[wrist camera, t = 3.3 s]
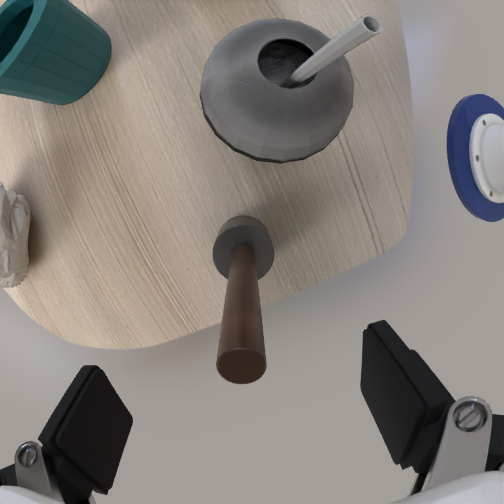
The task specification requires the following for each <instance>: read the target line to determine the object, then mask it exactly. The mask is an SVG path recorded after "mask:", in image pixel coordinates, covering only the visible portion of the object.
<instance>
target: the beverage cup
mask: <svg viewBox="0 0 504 504" xmlns="http://www.w3.org/2000/svg"><path fill="white" fill-rule="evenodd" d="M381 28H382V25H381V24H380V22H379V21H378V20H377V18H375V17H373V16H371V15H369V14H367V15H364V16H361V17H360V18H359V19H357V20H356V21H355V22H353V23H352V24H351V25H349V26H348V27H347V28H345V29H344V30H343V31H342V32H340V33H339V34H338V35H337V36H335V37H334V38H333V39H332V40H330V39H329V38H328V37H327V36H326V35H324V34H323V33H322V32H321V31H319V30H317V29H315V28H313V27H311V26H308V25H306V24H304V23H302V22H298V21H293V20H286V19H280V18H277V19H267V20H258V21H254V22H251V23H249V24H247V25H244V26H242V27H239V28H237V29H235V30H233V31H232V32H231V33H230V34H229V35H227V36H226V37H225V38H224V39H223V40H222V41H220V42H219V43H218V44H217V45H216V46H215V48H214V50H213V51H212V53H211V55H210V57H209V58H208V60H207V62H206V64H205V67H204V72H203V77H202V83H201V90H200V99H201V104H202V109H203V113H204V117H205V119H206V120H207V122H208V123H209V125H210V127H211V128H212V130H213V132H214V133H215V135H216V136H217V137H218V138H219V139H221V140H222V141H223V142H224V143H225V144H226V145H228V146H229V147H230V148H231V149H232V150H233V151H235V152H238V153H240V154H242V155H245V156H247V157H249V158H252V159H254V160H256V161H264V162H272V163H280V164H281V163H286V162H292V161H298V160H304V159H306V158H308V157H310V156H312V155H314V154H315V153H317V152H319V151H321V150H323V149H325V148H326V146H327V145H328V144H329V143H330V142H331V141H332V140H333V139H334V138H335V137H336V136H337V135H338V134H339V132H340V130H341V129H342V128H343V127H344V125H345V122H346V120H347V118H348V116H349V113H350V111H351V109H352V107H353V92H354V81H353V77H352V74H351V70H350V67H349V64H348V62H347V60H346V59H345V57H344V56H343V55H344V54H345V53H347V52H349V51H350V50H352V49H353V48H355V47H357V46H358V45H360V44H362V43H363V42H365V41H367V40H368V39H370V38H372V37H374V36H375V35H377V34H379V33H381Z"/></svg>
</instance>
